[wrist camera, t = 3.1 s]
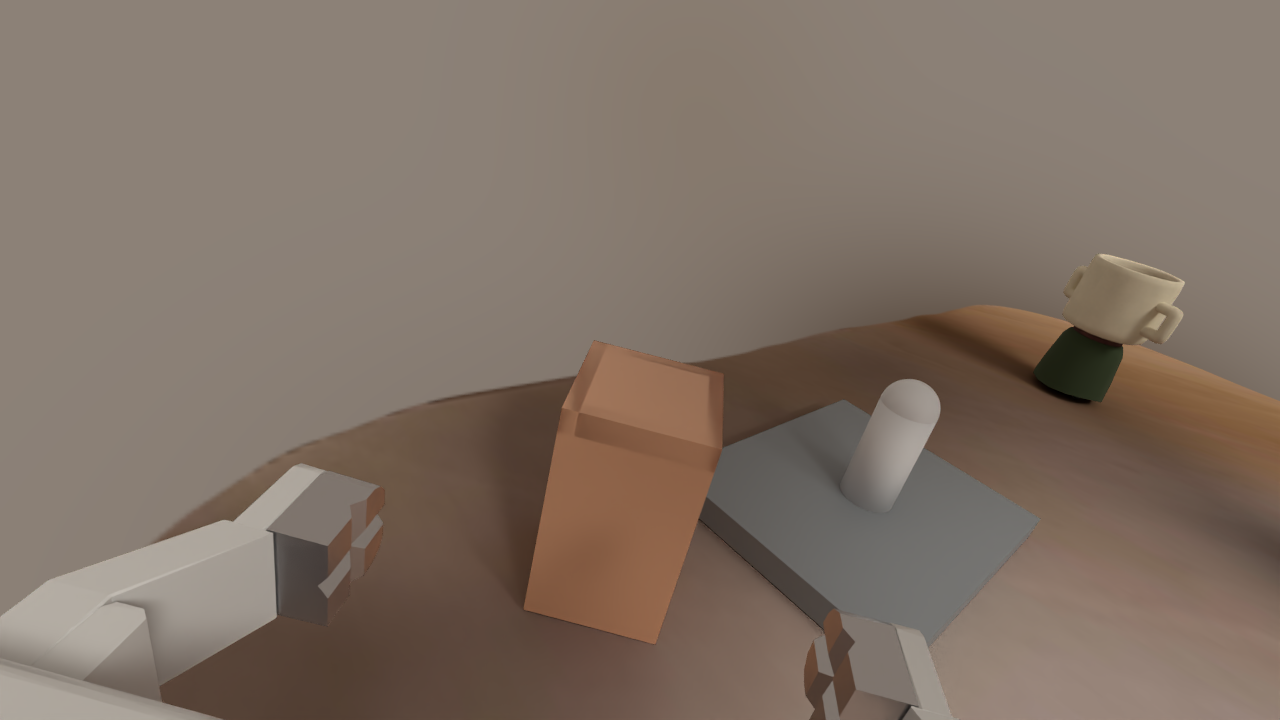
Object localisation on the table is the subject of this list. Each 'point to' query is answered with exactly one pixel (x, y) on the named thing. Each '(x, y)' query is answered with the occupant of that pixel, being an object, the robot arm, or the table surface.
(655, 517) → the tall lidded tan box
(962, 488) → the base
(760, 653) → the table surface
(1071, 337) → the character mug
